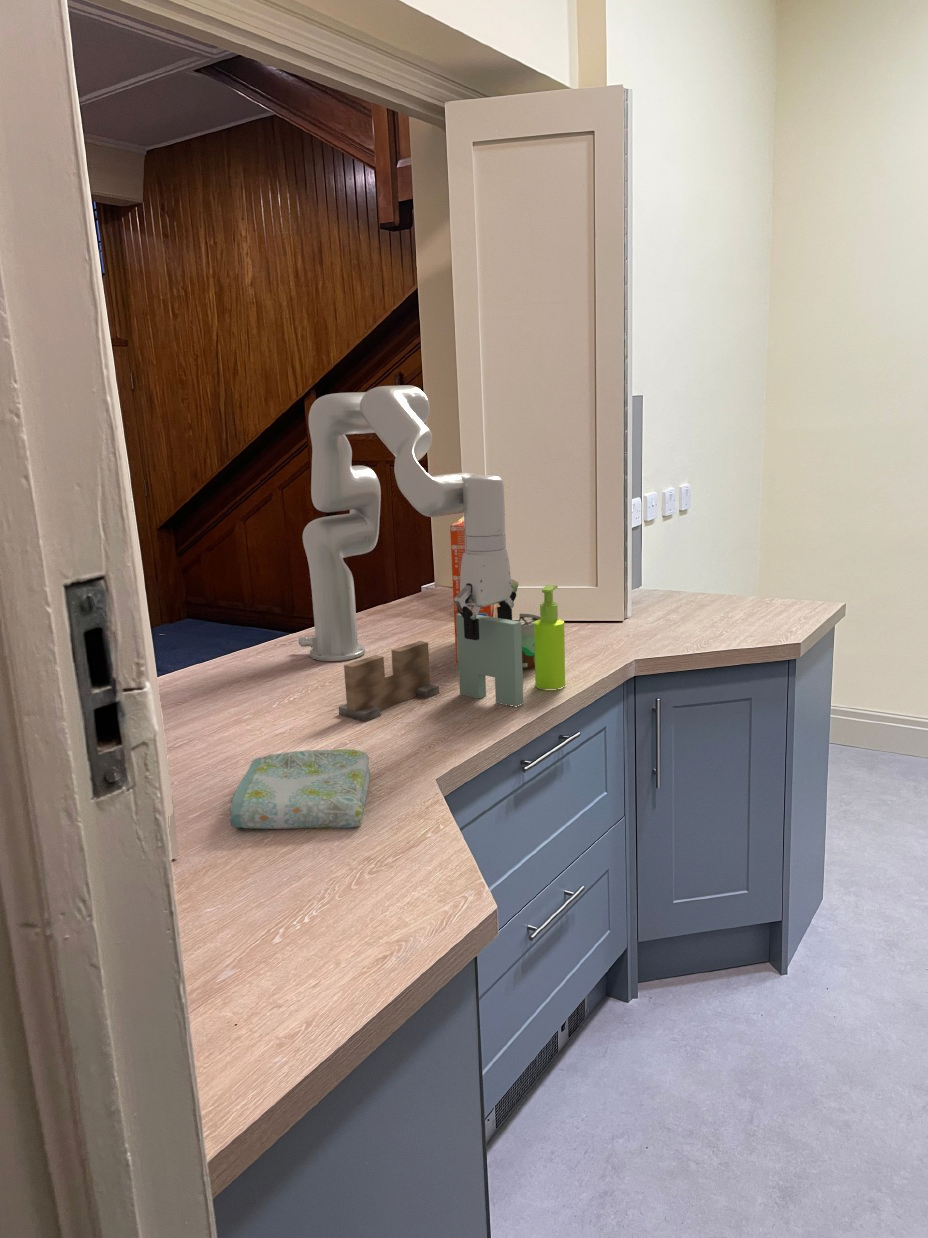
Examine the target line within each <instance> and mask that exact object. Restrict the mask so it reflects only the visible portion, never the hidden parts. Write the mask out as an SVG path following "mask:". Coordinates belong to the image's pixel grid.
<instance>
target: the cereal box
mask: <svg viewBox="0 0 928 1238" xmlns="http://www.w3.org/2000/svg"><path fill="white" fill-rule="evenodd" d="M449 529H450V531H449V532H450V550H451V555H450V556H451V577H452V596H453V621H454V644H455V663H456V664H457V663H458V642H457V619H456V615H457V614H460V613H459V612H458V610H457V607H456V604H455V602H454V598H455V597H456V596H457V595H458V594H459V593H460V573H461V563H462V556H463V553H465V531H464V516H462V517H461V518H459V519H458V520H457V521H456V522H454V523H453V524H451V525H450V526H449ZM497 607H500V606H499V604H498V603H495V604H492V605H489V606H485V607H481V608H480V610H479V612H478V614H477V615H482V616H489V617H495V618H497ZM473 608H474V607H471V608H470V610H471V612H472V610H473Z"/></svg>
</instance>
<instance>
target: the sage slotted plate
mask: <svg viewBox="0 0 928 1238" xmlns="http://www.w3.org/2000/svg"><path fill="white" fill-rule="evenodd" d="M456 619H457V642H458V684H459V685H458V686H459V695H462V696H466V697H471V698H475V699H478V698H480V699H481V698H484V697H486V696H487V686H486V685H487V684H486V683H487V681H486V679H487V678H486V676H487V677H490V678H494V686H495V688H494V690H495V691H494V693H495V695H494V696H495V703H496V702H497V703H496V704H499V703H502V704H501V705H503V704H507V705H513V706H518V705H520V704H522V703H523V704H524V680H523V679H524V676H523V675H524V674H523V671H522V636H521V622H519V621H518V620H513V619H512V620H507V619H501V618H495V617H489V616H482V615H477V617H476V619H479V640H471V639H466V638H465V637H464V618H462V617H461V614H457V615H456ZM507 705H506V706H507Z"/></svg>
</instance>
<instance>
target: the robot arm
mask: <svg viewBox="0 0 928 1238" xmlns="http://www.w3.org/2000/svg"><path fill="white" fill-rule="evenodd" d="M430 409H431V406H430V401H429V399H428V396H427V395H426V394H425V393H424V391H422V390H421V388H420V387H417V386H414V385H411V384H410V385H409V384H408V385H406V384H405V385H403V384H402V385H383V386H376V387H373V388H371V389H369V390H367V391H363V392H353V391H352V392H338V393H337V392H336V393H330V394H325V395H322V396H320V397H318V398H317V399H316V400H315V401H314V402H313V403H312V405H311V406H310V409H309V413H308V429H309V435H310V440H311V441H310V442H311V447H312V453H311V455H312V457H311V480H310V481H311V482H310V483H311V484H310V491H311V492H310V493H311V494H310V495H311V501H312V504H313V507H314V508H315V509H316V510H317V511H320V512H321V513H322V512H323V513H335V512H344V511H349V513H344V514H336V515H329V516H323V517H319V518H315V519H313V520H312V521H310V522H308V523H307V525H306V526H305V527H304V529H303V532H302V543H303V548H304V550H305V555H306V557H307V562H308V564H307V565H308V568H309V579H310V585H311V586H310V587H311V595H312V597H311V600H312V611H313V612H312V613H313V621H314V622H313V623H314V635H312V636H310V637H309V636H299V637H298V645H299V646H300V647H301V648H302V647H305V648H307V647H310V648H311V649H310V651H309V656H310V658H311V659H312V660H315V659H316V660H315V661H320V662H341V661H349V660H353V659H355V658H356V659H357V658H359V657H361V656H363V655H364V654H365V653H366V647H365V646H364V645H363V644H361V643H359V639H358V626H357V612H356V611H357V610H356V595H355V594H356V593H355V583H354V577H353V573H352V571H351V570H350V568H349V567H348V565H347V564H346V562H345V561H344V558H348V557H352V556H353V557H354V556H359V555H364V554H368V553H370V552H371V551H373V550H374V549H375V547H376V545H377V543H378V539H379V534H380V516H381V501H382V499H381V498H382V497H381V495H382V492H381V491H382V489H381V484H380V480H379V478H378V476H377V474H376V473H375V471H374V470H373V468H371V467H369V466H365V465H352V458H353V450H352V446H351V444H350V441H349V440H348V437H347V436H346V435H355V434H357V435H359V434H361V435H362V434H363V435H364V434H374V433H375V434H376V435H377V437H378V438H379V439H380V440H381V442H382V443H383V444H384V445H385V446H386V448H387V449H388V451H390V452H391V454H393V456H394V457H395V459H394V467H393V468H394V475H395V476H394V477H395V481H396V484H397V487H398V489H399V491H400V492H401V494H402V495H403V496H404V498H406V500H407V501H408V502H409V504H411V506H412V507H413V508H414V509H415V510H416V511H417V512H418V513H419V514H421V515H423V516H425V517H429V518H437V517H445V516H451V515H457V514H458V515H459V514H463V517H464V531H465V553H463V556H462V563H461V573H460V593H459V594H458V595H457V596H456V597H455V598H454V602H455V604H456V607H457V610H458V612H459V613H460V614H461V617H462V618H464V637H465V638H466V639H471V640H479V619H476V617H477V614H478V612H479V610H480V608H481V607H485V606H489V605H492V604H495V603H498V604H499V606H500V607H497V618H501V619H507V620H513V608H514V606H515V603H514V602H515V600H516V597H517V592H518V587H519V581H516V580H515V579H513V578H512V576H511V575H512V574H511V566H510V560H509V554H508V549H507V541H506V540H507V538H506V514H505V509H506V508H505V485H504V483H505V482H504V481H503V479H502V477H500V476H497V475H493V474H492V475H489V474H487V475H486V474H485V475H484V474H483V475H479V474H476V473H472V472H455V473H445V474H436V475H430V474H429V473H428V472H426V470H425V469H424V468H423V467H422V466H421V464H420V463H419V461H420V460H421V459H422V458H424V456H425V455H426V453H428V451H429V450H430V448H431V446H432V443H433V433H432V431H431V430H430V428H429V427H428V426H427V425H426V422H427V421H428V419H429V417H430V413H431V410H430ZM454 602H453V603H454ZM471 607H474V608H473V610H472V612H471V610H470V608H471Z"/></svg>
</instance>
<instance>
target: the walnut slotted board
mask: <svg viewBox="0 0 928 1238" xmlns="http://www.w3.org/2000/svg"><path fill="white" fill-rule="evenodd" d="M384 659H385V657H384V656H382V655H377V654H375V655H372V656H368V657H365V658H361V659H358V660H355V661H353V662H349V663H346V664H344V665H343V670H344V671H343V672H344V682H345V683H344V684H345V696H346V704H343V705H339V706H338V715H340V716H344V717H346V718H350V719H354V720H357V721H361V722H364V723H365V722H369V721H370V720H373V719H376V718H378V717H381V710H384V709H386V708H388V707H393V706H394V705H398V704H400V703H403V702H405V701H407V700H410V699H411V700H412V699H413V698H416V697H418V698H422V699H428V698H430V697H433V696H435V695H438V694H440V686H439V685H437V684H433V683H431V674H430V655H429V642H428V641H422V640H418V641H415V642H411V643H408V644H406V645H402V646H399V647H397V648H393V649H391V664H392V665H391V666H392V675H391V674H390V675H389V676H386V673H385V660H384Z"/></svg>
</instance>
